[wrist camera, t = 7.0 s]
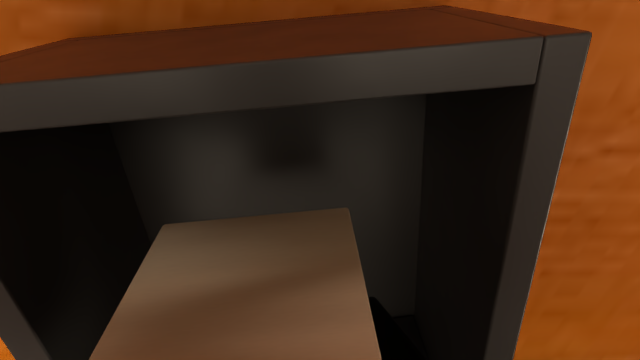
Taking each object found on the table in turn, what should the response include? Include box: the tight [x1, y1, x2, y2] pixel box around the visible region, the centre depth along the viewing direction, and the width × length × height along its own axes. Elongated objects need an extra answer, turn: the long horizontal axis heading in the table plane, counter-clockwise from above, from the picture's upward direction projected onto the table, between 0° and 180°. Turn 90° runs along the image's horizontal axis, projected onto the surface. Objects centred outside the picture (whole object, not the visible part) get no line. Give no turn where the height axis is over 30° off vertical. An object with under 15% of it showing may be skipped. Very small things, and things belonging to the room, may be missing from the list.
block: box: [89, 207, 382, 360], centre depth 7 cm, size 4×4×4 cm
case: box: [0, 6, 592, 360], centre depth 12 cm, size 14×12×7 cm
